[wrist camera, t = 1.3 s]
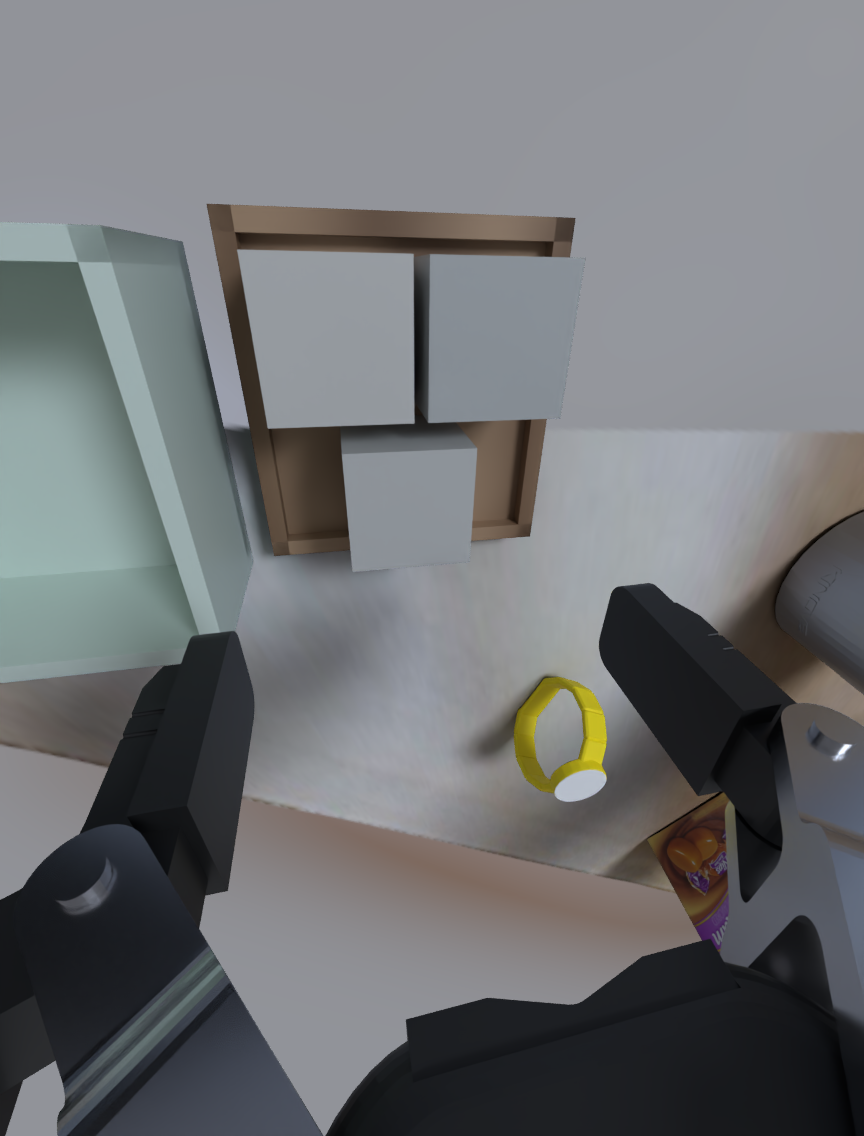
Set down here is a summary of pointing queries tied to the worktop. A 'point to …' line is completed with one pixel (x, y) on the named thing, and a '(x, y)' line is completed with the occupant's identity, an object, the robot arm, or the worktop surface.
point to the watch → (586, 770)
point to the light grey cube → (332, 336)
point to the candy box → (698, 866)
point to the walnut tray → (504, 448)
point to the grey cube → (408, 494)
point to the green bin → (109, 458)
